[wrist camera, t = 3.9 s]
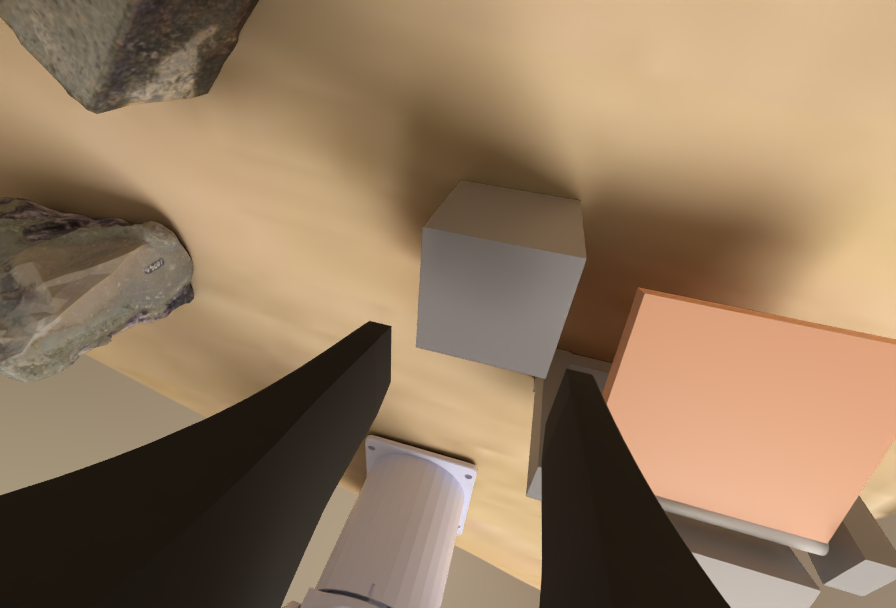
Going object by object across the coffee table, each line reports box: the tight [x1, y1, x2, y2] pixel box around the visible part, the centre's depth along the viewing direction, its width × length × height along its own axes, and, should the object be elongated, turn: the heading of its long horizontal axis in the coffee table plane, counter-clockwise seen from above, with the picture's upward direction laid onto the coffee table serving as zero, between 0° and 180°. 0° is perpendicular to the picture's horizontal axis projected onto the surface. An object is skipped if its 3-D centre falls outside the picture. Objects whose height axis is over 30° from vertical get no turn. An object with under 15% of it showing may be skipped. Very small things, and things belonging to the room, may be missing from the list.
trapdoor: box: [602, 287, 896, 608], centre depth 13 cm, size 12×8×2 cm
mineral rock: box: [0, 197, 194, 382], centre depth 19 cm, size 13×11×10 cm
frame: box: [526, 348, 896, 596], centre depth 16 cm, size 2×11×7 cm, turn 84°
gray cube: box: [416, 180, 587, 379], centre depth 14 cm, size 5×5×5 cm
